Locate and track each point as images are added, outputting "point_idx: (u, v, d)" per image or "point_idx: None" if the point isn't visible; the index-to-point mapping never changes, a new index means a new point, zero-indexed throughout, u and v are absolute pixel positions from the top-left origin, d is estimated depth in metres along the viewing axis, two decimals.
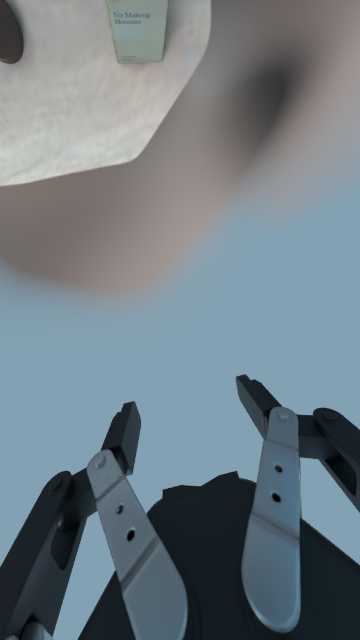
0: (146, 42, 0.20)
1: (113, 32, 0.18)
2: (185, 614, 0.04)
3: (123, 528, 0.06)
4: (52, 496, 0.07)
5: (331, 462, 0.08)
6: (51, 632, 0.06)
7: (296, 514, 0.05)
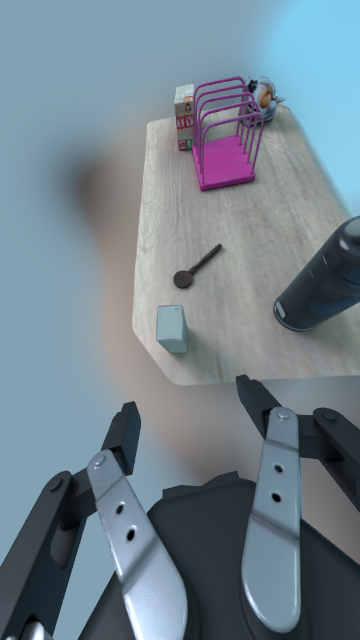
0: None
1: None
2: (185, 614, 0.04)
3: (123, 528, 0.06)
4: (52, 496, 0.07)
5: (331, 462, 0.08)
6: (51, 632, 0.06)
7: (296, 514, 0.05)
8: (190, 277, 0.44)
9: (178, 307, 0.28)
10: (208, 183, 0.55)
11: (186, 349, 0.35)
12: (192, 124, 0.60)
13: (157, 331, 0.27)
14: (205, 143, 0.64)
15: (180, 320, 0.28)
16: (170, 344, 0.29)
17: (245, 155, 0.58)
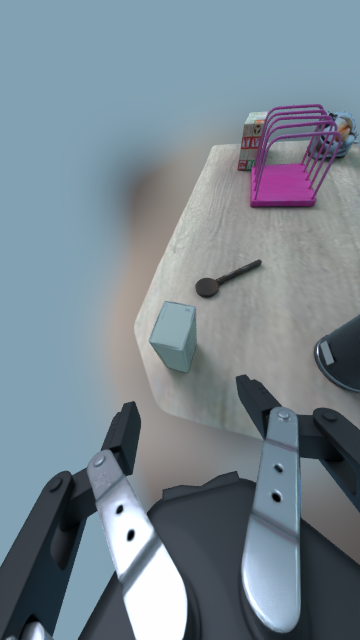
0: None
1: None
2: (185, 614, 0.04)
3: (123, 528, 0.06)
4: (52, 496, 0.07)
5: (331, 462, 0.08)
6: (51, 632, 0.06)
7: (296, 514, 0.05)
8: (216, 287, 0.37)
9: (190, 308, 0.21)
10: (260, 200, 0.51)
11: (187, 368, 0.27)
12: (257, 146, 0.59)
13: (153, 330, 0.20)
14: (266, 166, 0.61)
15: (187, 325, 0.20)
16: (166, 354, 0.22)
17: (308, 181, 0.53)
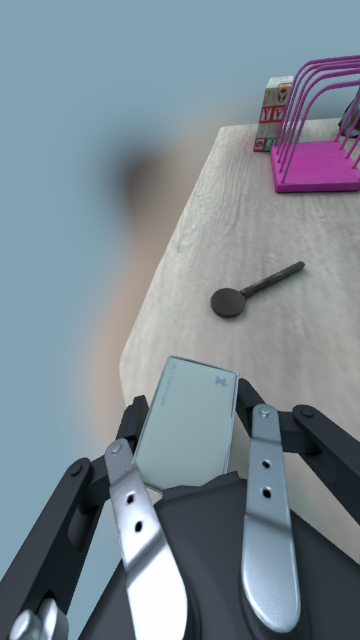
0: None
1: None
2: (184, 622, 0.04)
3: (132, 518, 0.06)
4: (72, 480, 0.08)
5: (311, 456, 0.08)
6: (66, 608, 0.06)
7: (286, 506, 0.05)
8: (241, 302, 0.25)
9: (227, 376, 0.09)
10: (290, 183, 0.39)
11: None
12: (280, 118, 0.47)
13: (142, 438, 0.08)
14: (290, 145, 0.49)
15: (224, 426, 0.08)
16: None
17: (349, 160, 0.41)
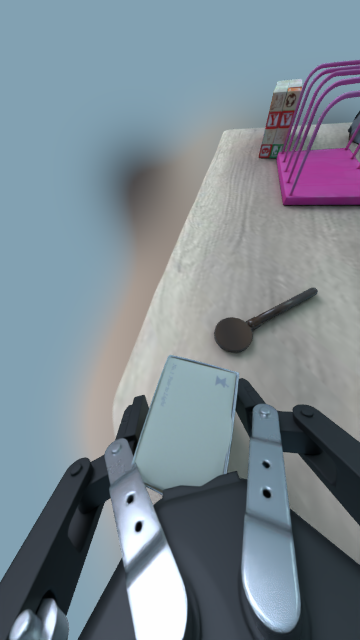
0: None
1: None
2: (184, 621, 0.04)
3: (132, 518, 0.06)
4: (72, 480, 0.08)
5: (311, 456, 0.08)
6: (66, 608, 0.06)
7: (286, 506, 0.05)
8: (248, 335, 0.23)
9: (227, 376, 0.09)
10: (299, 196, 0.36)
11: None
12: (288, 124, 0.45)
13: (142, 438, 0.08)
14: (297, 152, 0.47)
15: (224, 426, 0.08)
16: None
17: None
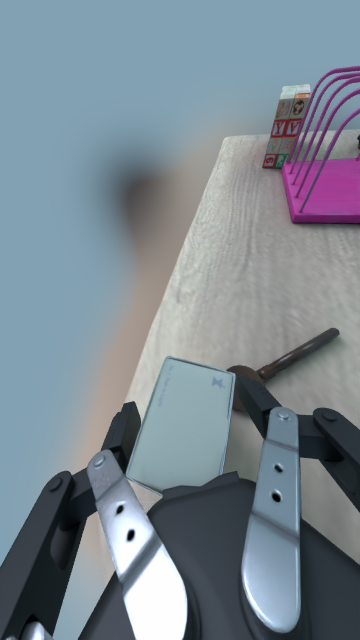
0: None
1: None
2: (185, 614, 0.04)
3: (123, 528, 0.06)
4: (52, 496, 0.07)
5: (331, 462, 0.08)
6: (51, 632, 0.06)
7: (296, 514, 0.05)
8: None
9: (224, 377, 0.09)
10: (309, 213, 0.33)
11: None
12: (295, 133, 0.41)
13: (139, 439, 0.09)
14: (304, 162, 0.44)
15: (221, 427, 0.08)
16: None
17: None
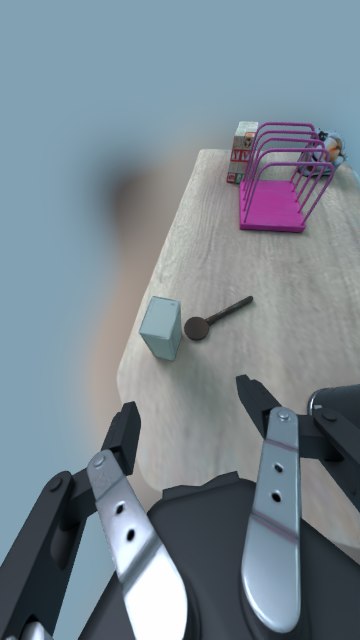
0: None
1: None
2: (185, 614, 0.04)
3: (123, 528, 0.06)
4: (52, 495, 0.07)
5: (331, 462, 0.08)
6: (51, 632, 0.06)
7: (296, 514, 0.05)
8: (206, 329, 0.34)
9: (175, 302, 0.24)
10: (250, 223, 0.48)
11: (173, 356, 0.30)
12: (247, 160, 0.56)
13: (143, 322, 0.23)
14: (255, 181, 0.59)
15: (172, 317, 0.23)
16: (154, 343, 0.25)
17: (297, 203, 0.51)
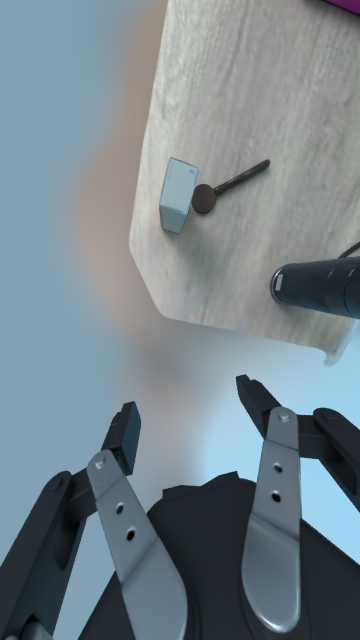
0: None
1: None
2: (185, 614, 0.04)
3: (123, 528, 0.06)
4: (52, 496, 0.07)
5: (331, 462, 0.08)
6: (51, 632, 0.06)
7: (296, 514, 0.05)
8: (213, 201, 0.34)
9: (194, 169, 0.23)
10: None
11: None
12: None
13: (162, 193, 0.24)
14: None
15: (191, 189, 0.24)
16: (170, 216, 0.27)
17: None
